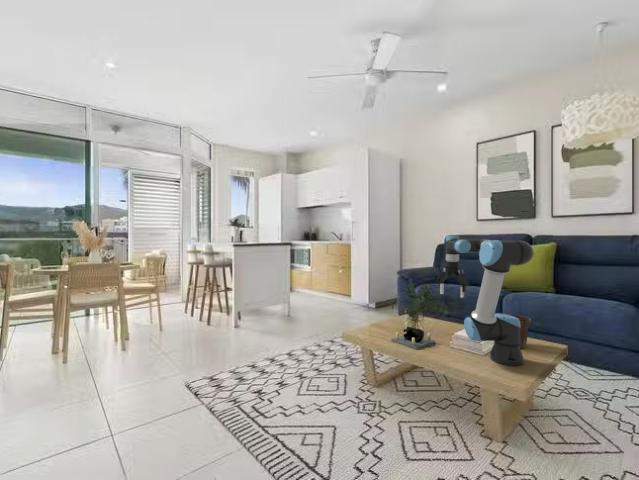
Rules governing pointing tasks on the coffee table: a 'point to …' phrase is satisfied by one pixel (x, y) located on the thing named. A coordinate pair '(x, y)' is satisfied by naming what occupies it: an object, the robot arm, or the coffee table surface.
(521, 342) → the plant pot
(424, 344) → the standoff plate
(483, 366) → the coffee table surface
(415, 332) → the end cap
